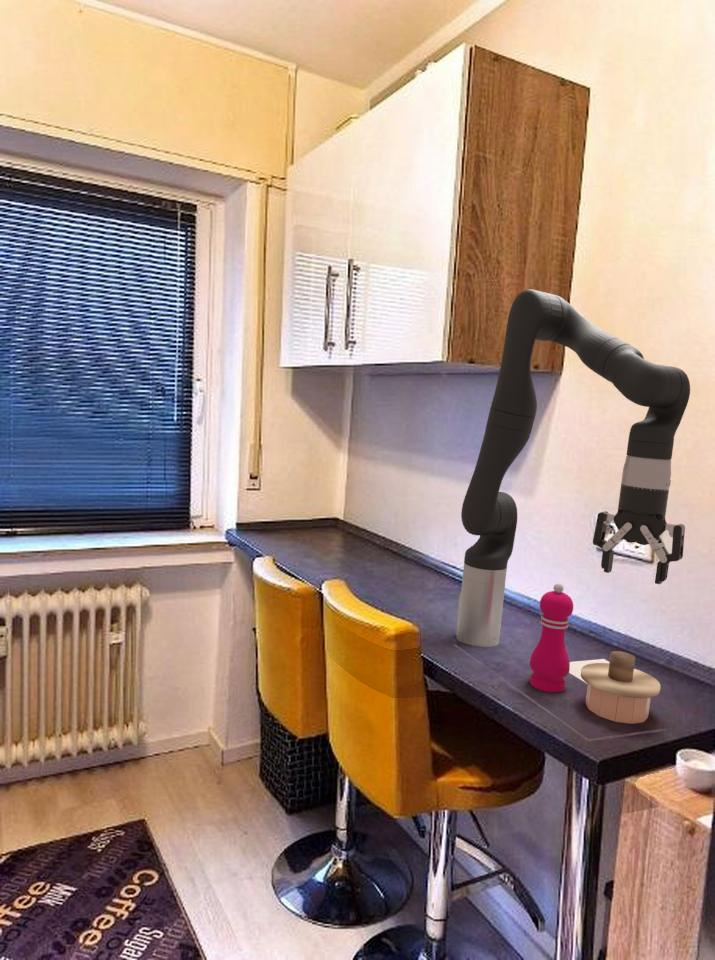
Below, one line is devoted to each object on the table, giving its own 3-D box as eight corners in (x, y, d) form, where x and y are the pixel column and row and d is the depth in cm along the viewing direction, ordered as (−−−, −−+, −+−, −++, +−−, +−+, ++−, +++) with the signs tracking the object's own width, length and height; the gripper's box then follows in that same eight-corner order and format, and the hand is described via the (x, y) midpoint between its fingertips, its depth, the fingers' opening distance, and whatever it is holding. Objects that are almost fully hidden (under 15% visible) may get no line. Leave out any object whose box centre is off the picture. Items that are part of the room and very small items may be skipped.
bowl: (574, 702, 123) (577, 672, 122) (617, 697, 126) (621, 668, 126) (614, 728, 113) (618, 696, 113) (659, 722, 117) (664, 691, 117)
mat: (553, 665, 140) (553, 663, 140) (603, 661, 145) (604, 658, 145) (597, 692, 128) (598, 690, 128) (650, 686, 133) (651, 684, 133)
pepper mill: (573, 688, 129) (585, 585, 126) (556, 699, 123) (569, 591, 121) (538, 676, 133) (549, 576, 131) (520, 685, 128) (531, 582, 126)
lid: (565, 670, 123) (568, 644, 122) (621, 664, 128) (624, 640, 127) (617, 701, 111) (620, 673, 110) (677, 694, 116) (681, 667, 115)
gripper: (595, 479, 117) (583, 571, 119) (684, 491, 108) (670, 591, 110) (609, 477, 123) (598, 565, 125) (695, 489, 114) (682, 583, 116)
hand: (632, 577), depth 117 cm, fingers open, 8 cm apart
